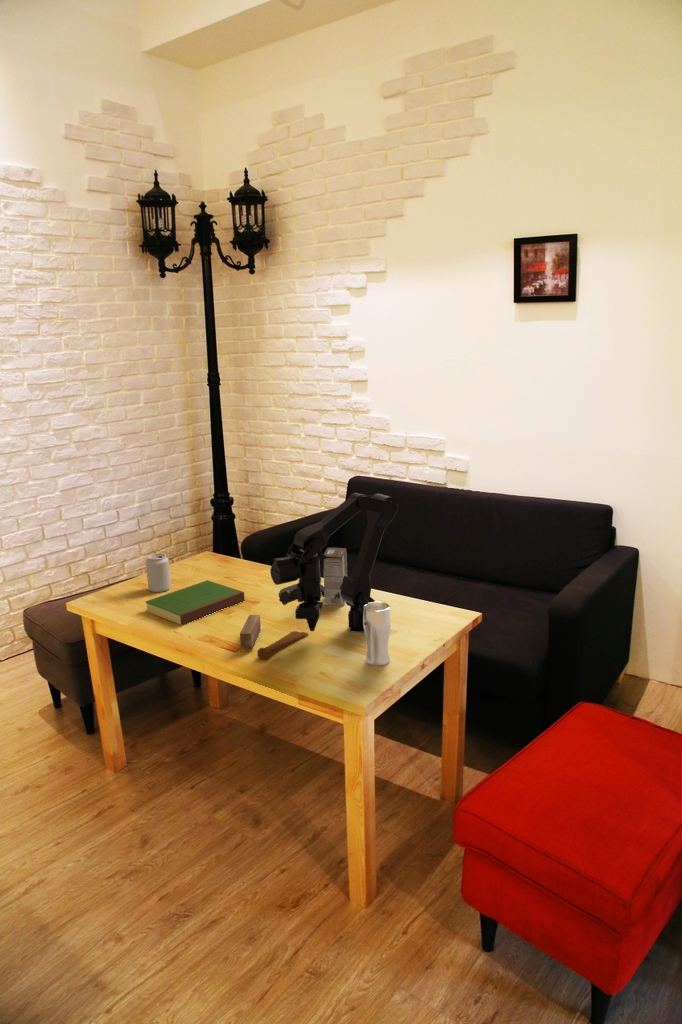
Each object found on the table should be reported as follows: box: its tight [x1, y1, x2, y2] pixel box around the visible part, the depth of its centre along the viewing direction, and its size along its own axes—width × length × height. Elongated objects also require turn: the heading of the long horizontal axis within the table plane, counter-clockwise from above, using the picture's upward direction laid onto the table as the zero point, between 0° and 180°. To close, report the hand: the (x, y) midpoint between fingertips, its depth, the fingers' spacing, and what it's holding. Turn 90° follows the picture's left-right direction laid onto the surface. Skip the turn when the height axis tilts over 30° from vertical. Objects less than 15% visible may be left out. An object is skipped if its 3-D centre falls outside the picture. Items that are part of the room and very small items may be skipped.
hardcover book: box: [144, 579, 246, 626], centre depth 224 cm, size 25×19×4 cm
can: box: [145, 553, 172, 593], centre depth 239 cm, size 8×8×12 cm
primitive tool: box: [257, 630, 309, 660], centre depth 193 cm, size 19×6×4 cm, turn 152°
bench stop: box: [239, 614, 262, 651], centre depth 196 cm, size 3×13×5 cm, turn 176°
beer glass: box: [363, 601, 392, 667], centre depth 180 cm, size 7×7×15 cm
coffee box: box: [322, 547, 348, 606], centre depth 223 cm, size 9×6×16 cm
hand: (312, 630), depth 194 cm, fingers closed
